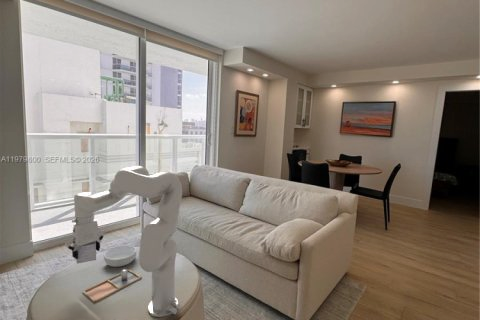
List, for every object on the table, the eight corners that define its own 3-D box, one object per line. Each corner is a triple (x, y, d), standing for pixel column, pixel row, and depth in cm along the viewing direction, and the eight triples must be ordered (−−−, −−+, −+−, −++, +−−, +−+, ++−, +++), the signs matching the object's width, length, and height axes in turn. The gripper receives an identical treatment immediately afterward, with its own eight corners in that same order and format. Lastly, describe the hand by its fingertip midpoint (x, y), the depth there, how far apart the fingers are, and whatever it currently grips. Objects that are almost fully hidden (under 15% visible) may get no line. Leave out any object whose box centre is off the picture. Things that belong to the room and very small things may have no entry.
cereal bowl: (128, 272, 135) (127, 260, 134) (97, 271, 135) (97, 258, 135) (141, 256, 152) (141, 245, 151) (114, 255, 152) (114, 244, 151)
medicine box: (96, 256, 123) (95, 239, 122) (96, 260, 119) (95, 243, 118) (77, 259, 119) (76, 242, 118) (76, 264, 115) (75, 246, 114)
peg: (128, 279, 127) (128, 270, 126) (123, 282, 125) (123, 272, 124) (125, 277, 128) (125, 268, 128) (120, 279, 126) (120, 270, 126)
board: (142, 281, 128) (142, 277, 128) (95, 306, 109) (95, 302, 109) (128, 272, 135) (128, 268, 135) (81, 294, 116) (81, 290, 116)
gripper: (67, 226, 107) (69, 264, 109) (107, 215, 121) (109, 249, 123) (60, 222, 111) (62, 258, 114) (100, 212, 126) (101, 245, 128)
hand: (86, 253), depth 118 cm, fingers closed on medicine box, 9 cm apart
